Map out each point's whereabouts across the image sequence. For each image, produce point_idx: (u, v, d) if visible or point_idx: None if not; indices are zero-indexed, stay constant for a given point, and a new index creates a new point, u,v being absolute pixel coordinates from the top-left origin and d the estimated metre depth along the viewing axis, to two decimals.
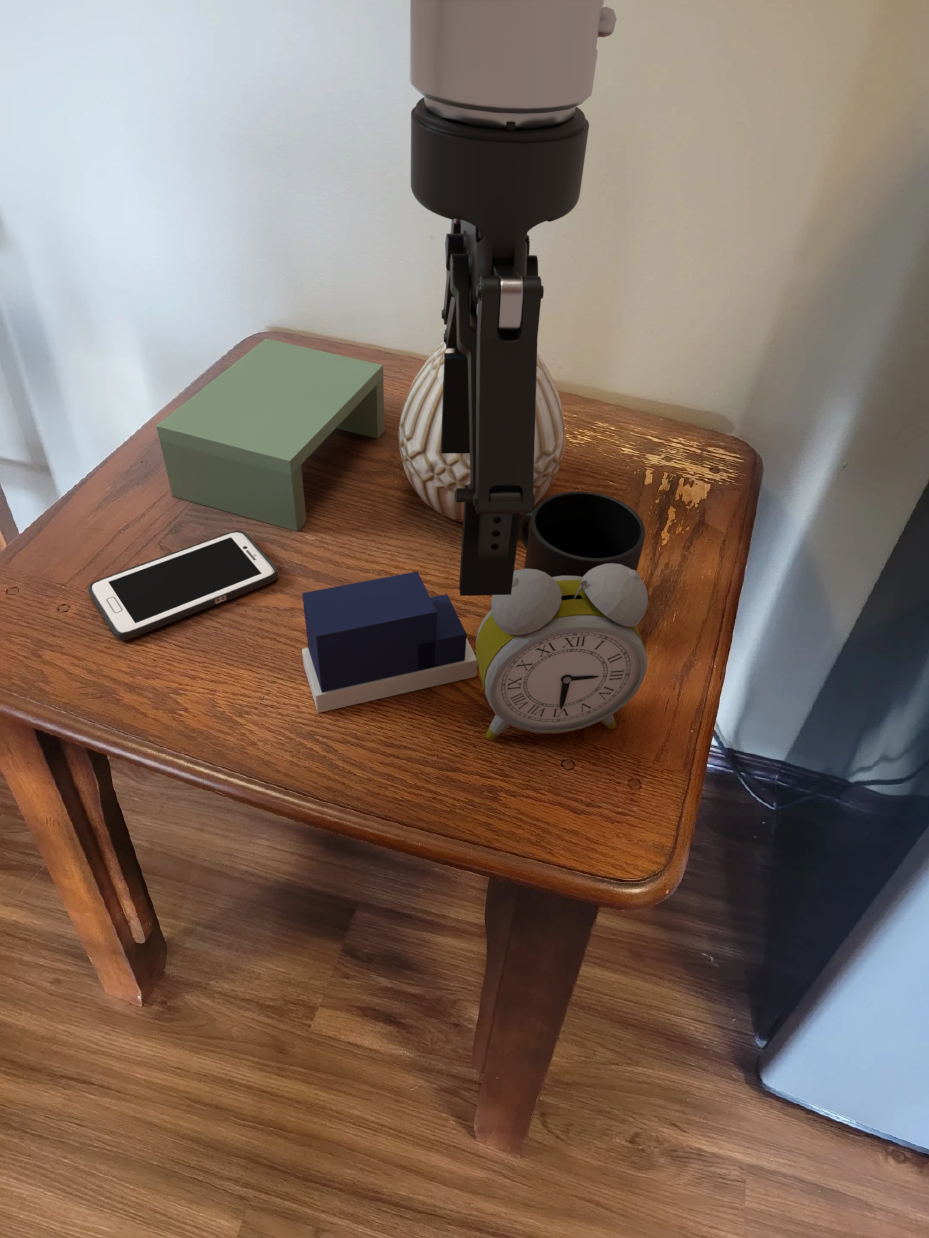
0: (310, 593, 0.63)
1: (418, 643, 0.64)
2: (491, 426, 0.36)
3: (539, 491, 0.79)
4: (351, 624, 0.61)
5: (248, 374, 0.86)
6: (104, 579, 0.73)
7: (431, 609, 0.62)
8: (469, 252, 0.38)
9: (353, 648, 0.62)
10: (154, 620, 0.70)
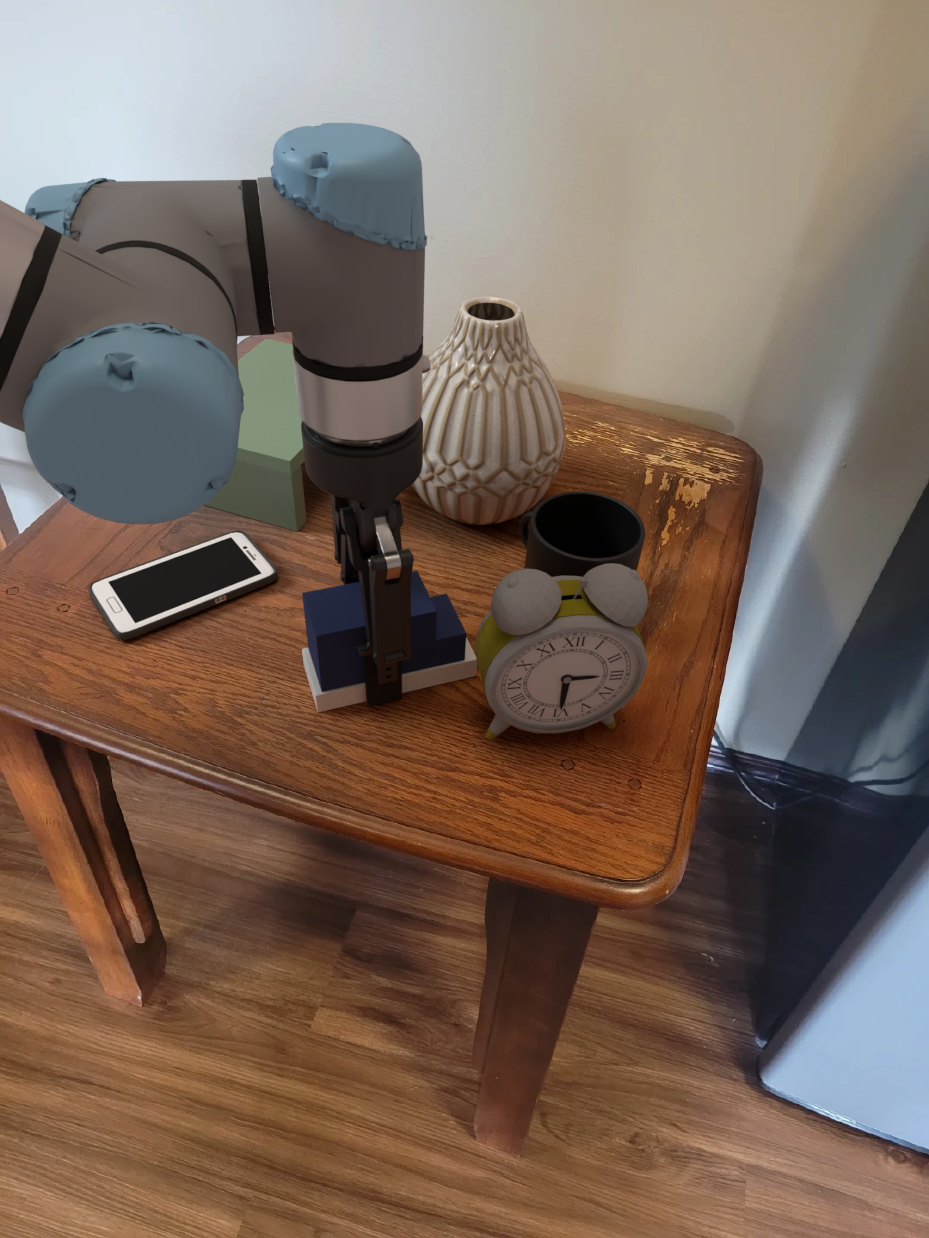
0: (310, 593, 0.63)
1: (417, 643, 0.64)
2: (383, 627, 0.56)
3: (539, 491, 0.79)
4: (351, 624, 0.61)
5: (248, 374, 0.86)
6: (104, 579, 0.73)
7: (431, 609, 0.63)
8: (353, 506, 0.55)
9: (353, 647, 0.62)
10: (154, 620, 0.70)
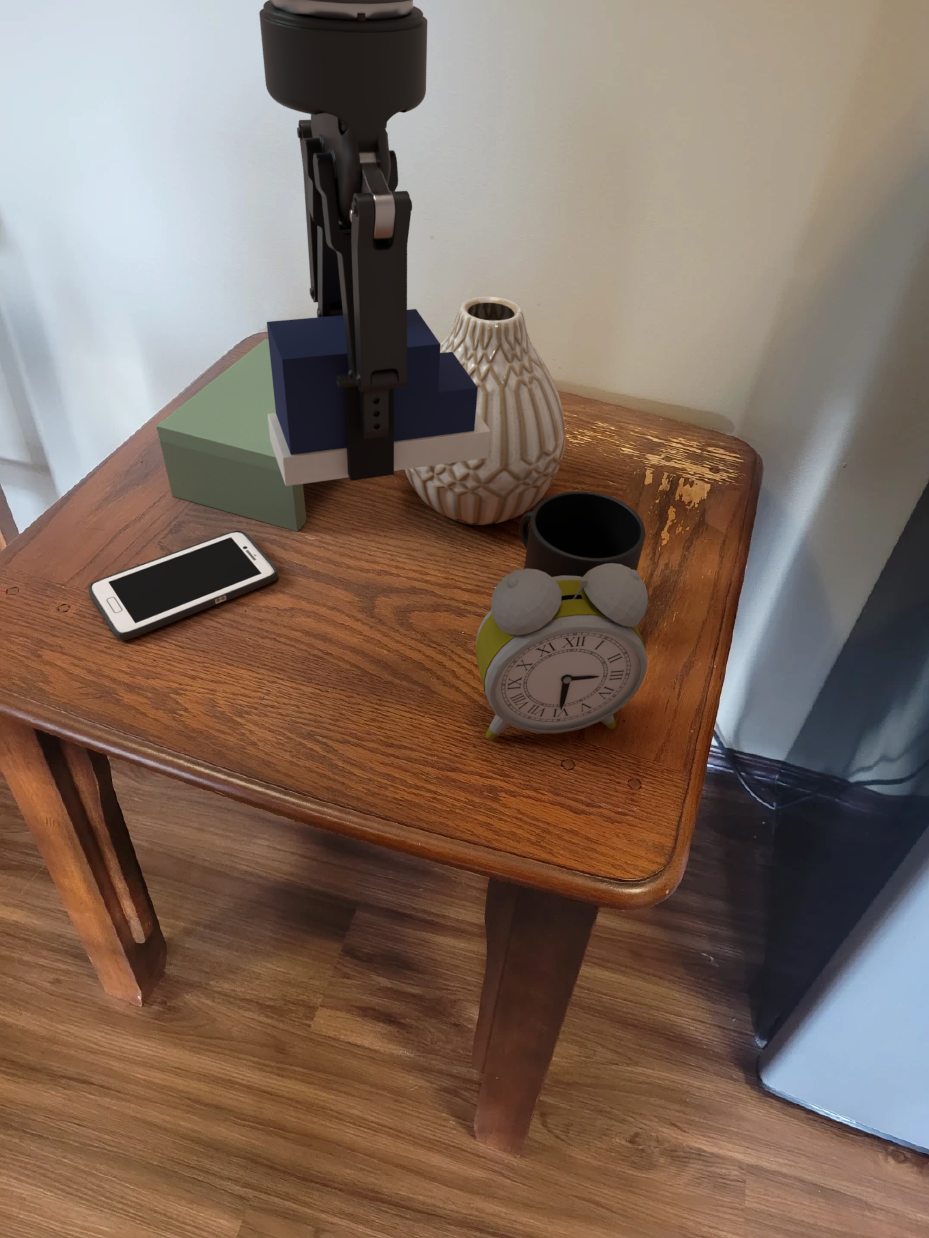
0: (277, 322, 0.49)
1: (415, 394, 0.50)
2: (370, 323, 0.42)
3: (539, 491, 0.79)
4: (329, 351, 0.47)
5: (248, 374, 0.86)
6: (104, 579, 0.73)
7: (433, 342, 0.48)
8: (331, 150, 0.41)
9: (331, 387, 0.48)
10: (154, 620, 0.70)
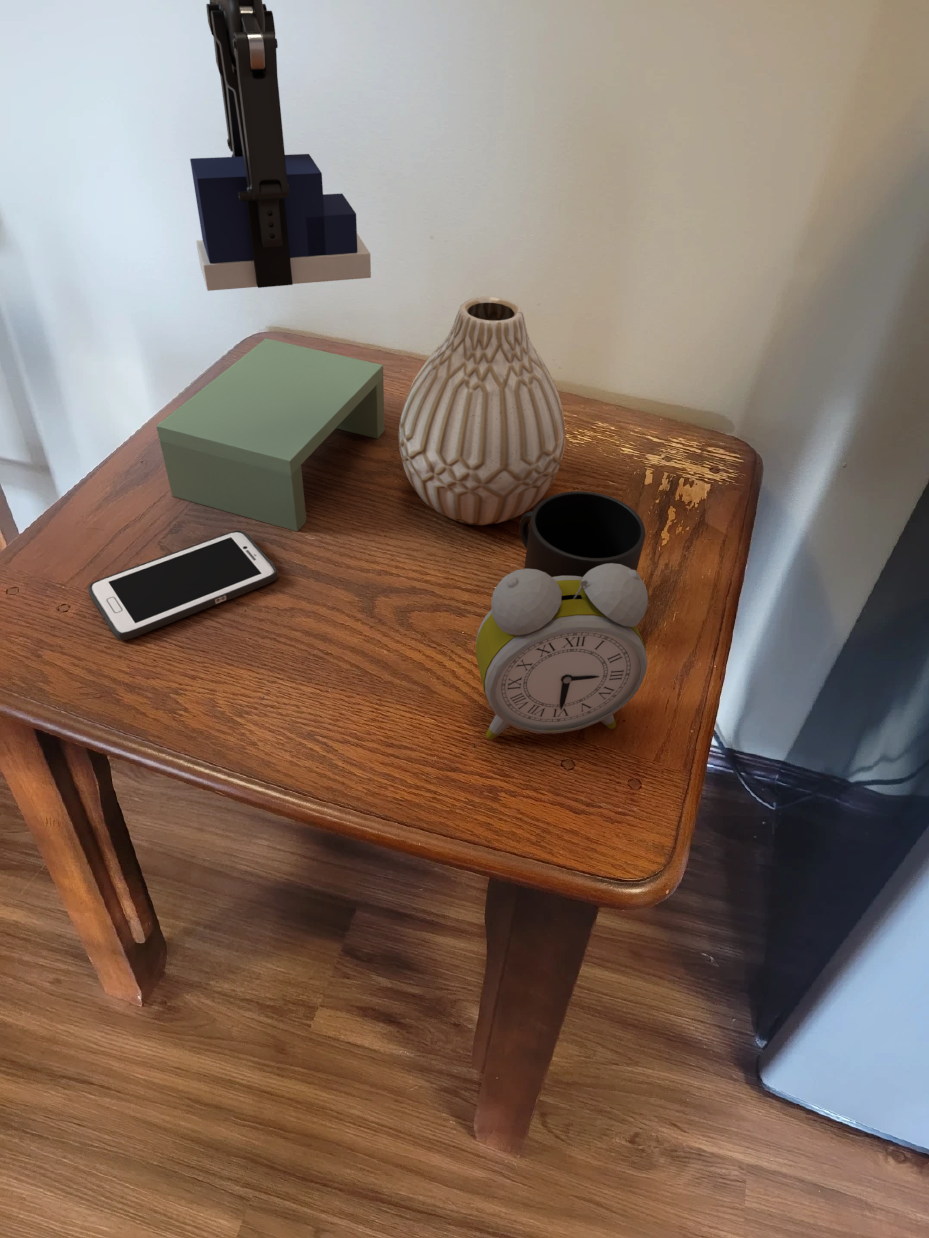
0: (198, 159, 0.64)
1: (305, 216, 0.65)
2: (254, 140, 0.57)
3: (539, 491, 0.79)
4: (234, 175, 0.62)
5: (248, 374, 0.86)
6: (104, 579, 0.73)
7: (316, 171, 0.63)
8: (223, 8, 0.55)
9: (237, 205, 0.63)
10: (154, 620, 0.70)
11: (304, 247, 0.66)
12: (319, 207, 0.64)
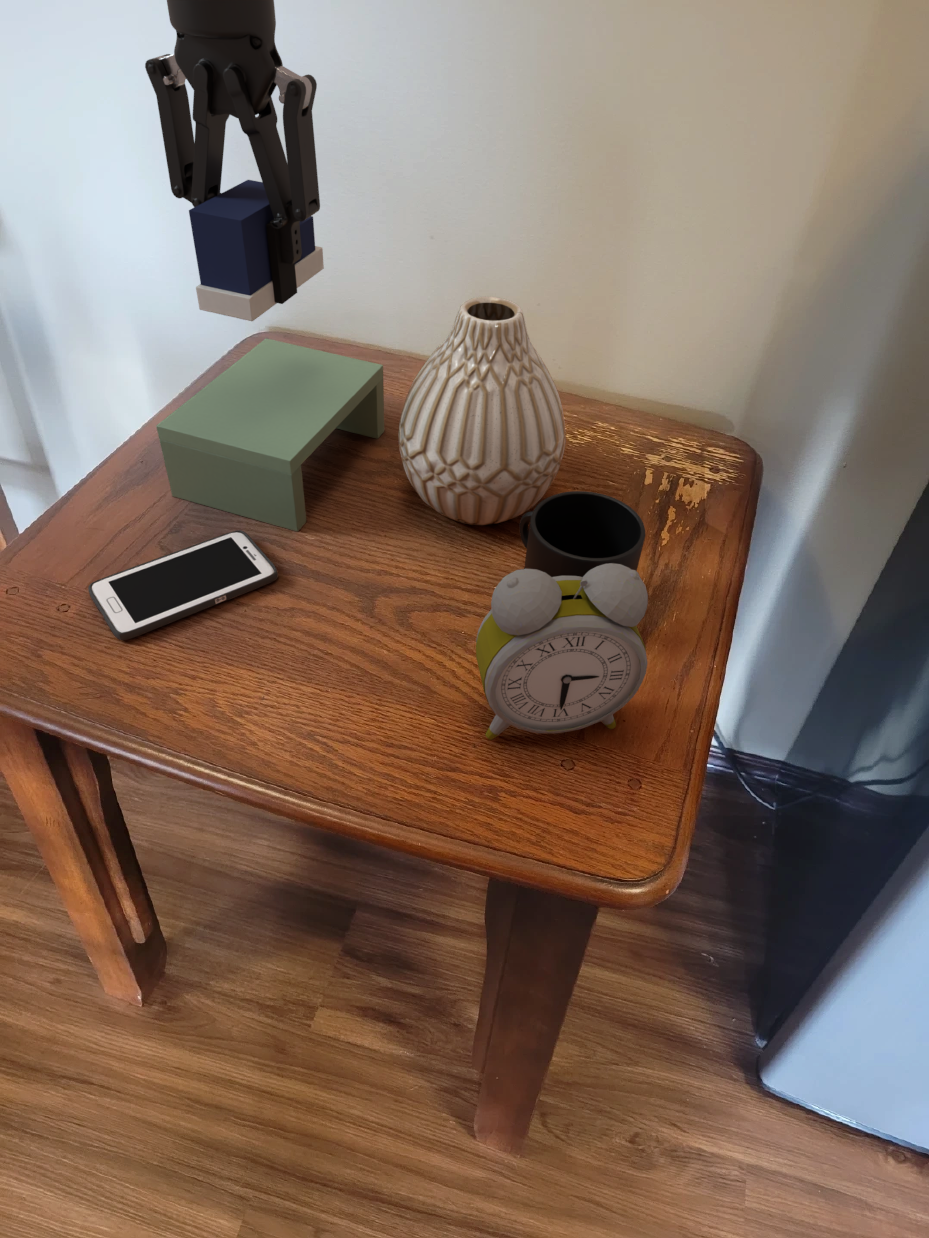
0: (195, 208, 0.68)
1: None
2: (304, 168, 0.66)
3: (539, 491, 0.79)
4: (253, 209, 0.69)
5: (248, 374, 0.86)
6: (104, 579, 0.73)
7: None
8: (235, 64, 0.62)
9: (261, 235, 0.70)
10: (154, 620, 0.70)
11: None
12: None
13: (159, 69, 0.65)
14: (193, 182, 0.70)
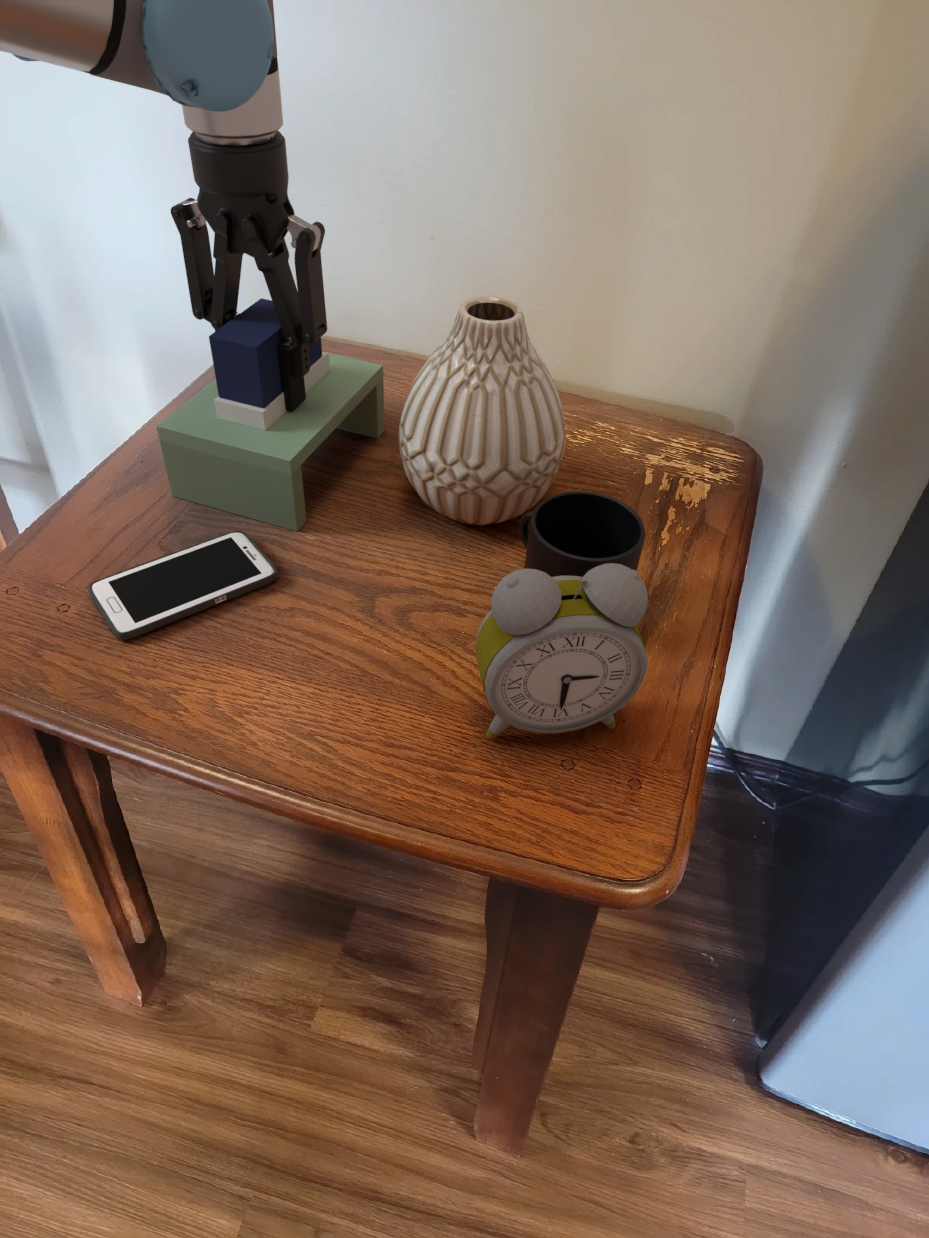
0: (214, 334, 0.75)
1: None
2: (313, 301, 0.73)
3: (539, 491, 0.79)
4: (267, 334, 0.76)
5: None
6: (104, 579, 0.73)
7: None
8: (252, 214, 0.70)
9: (274, 355, 0.77)
10: (154, 620, 0.70)
11: None
12: None
13: (183, 214, 0.72)
14: (212, 307, 0.77)
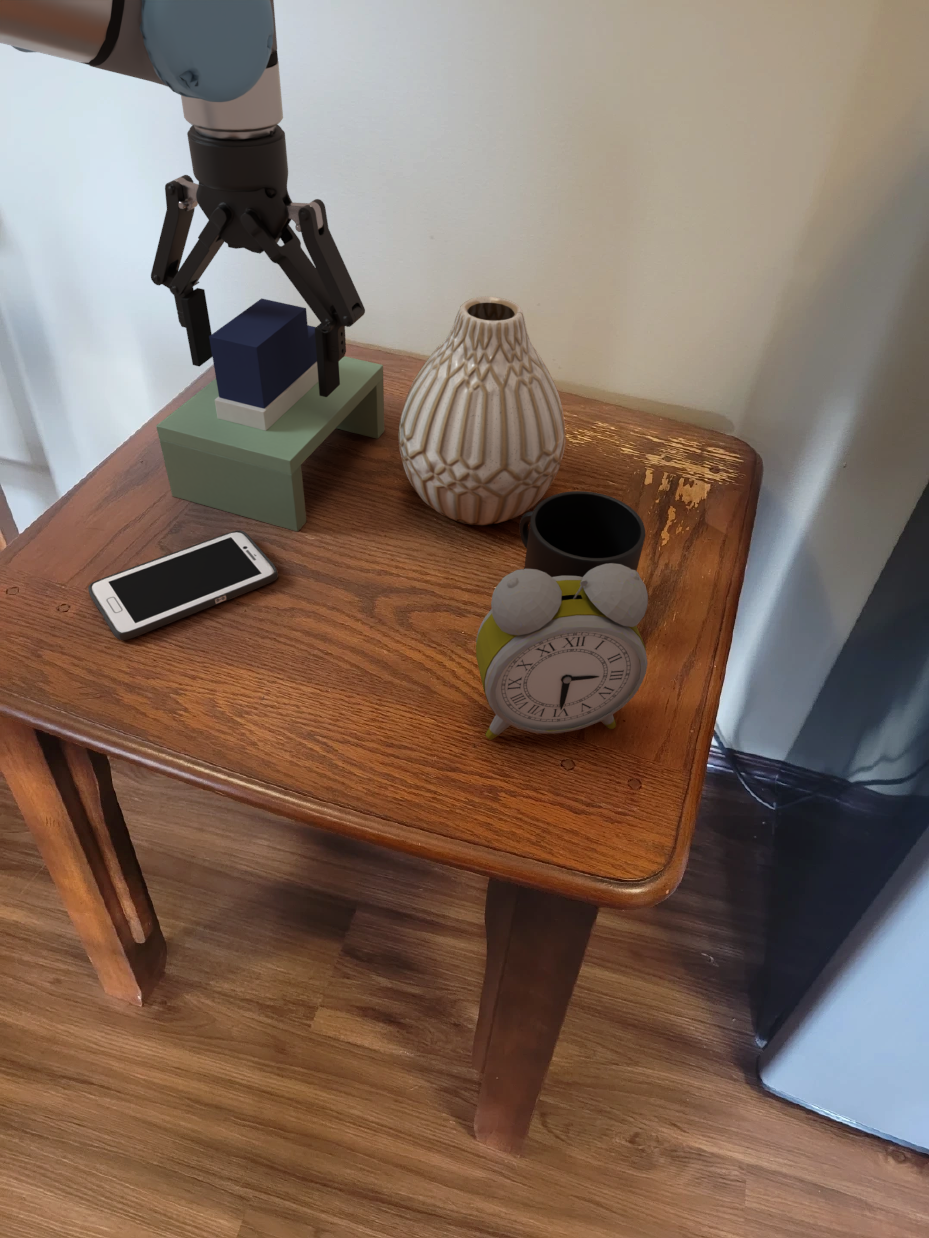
0: (214, 334, 0.75)
1: (301, 344, 0.81)
2: (337, 279, 0.71)
3: (539, 491, 0.79)
4: (267, 334, 0.76)
5: None
6: (104, 579, 0.73)
7: (301, 308, 0.80)
8: (251, 209, 0.69)
9: (274, 355, 0.77)
10: (154, 620, 0.70)
11: (302, 367, 0.82)
12: (306, 333, 0.81)
13: (178, 194, 0.71)
14: (177, 274, 0.76)
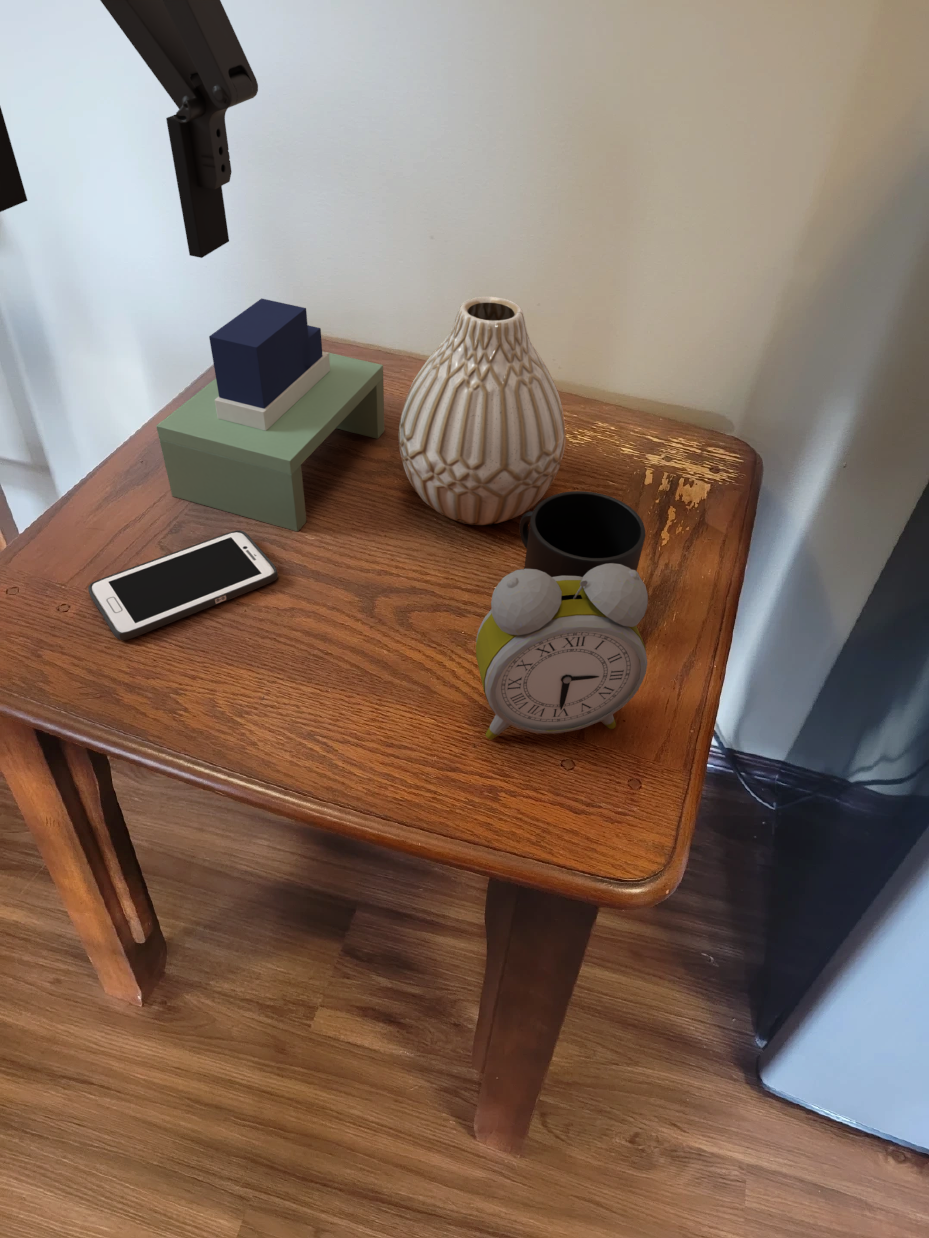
0: (214, 334, 0.75)
1: (301, 344, 0.81)
2: (197, 7, 0.38)
3: (539, 491, 0.79)
4: (267, 334, 0.76)
5: None
6: (104, 579, 0.73)
7: (301, 308, 0.80)
8: None
9: (274, 355, 0.77)
10: (154, 620, 0.70)
11: (302, 367, 0.82)
12: (306, 333, 0.81)
13: None
14: None
